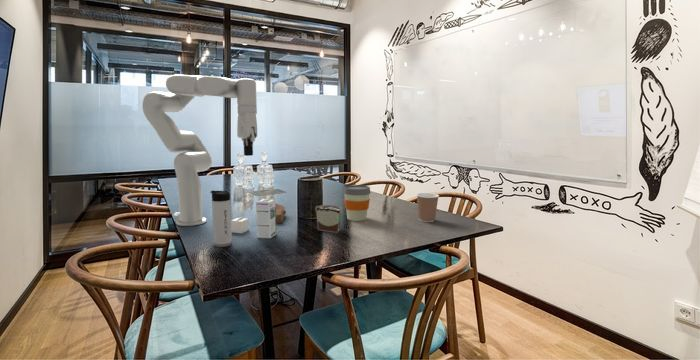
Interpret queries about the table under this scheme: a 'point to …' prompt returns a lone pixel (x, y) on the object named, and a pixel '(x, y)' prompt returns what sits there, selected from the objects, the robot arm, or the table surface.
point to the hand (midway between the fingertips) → (248, 155)
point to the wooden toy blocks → (279, 213)
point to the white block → (239, 225)
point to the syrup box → (266, 218)
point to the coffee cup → (427, 206)
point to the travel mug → (221, 218)
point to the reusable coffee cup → (356, 201)
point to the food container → (328, 217)
